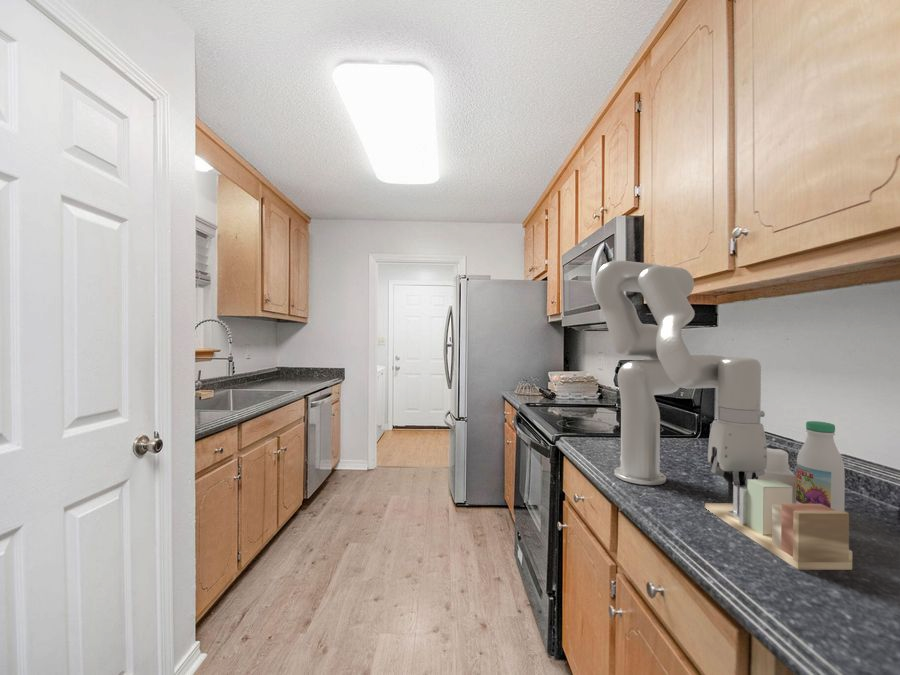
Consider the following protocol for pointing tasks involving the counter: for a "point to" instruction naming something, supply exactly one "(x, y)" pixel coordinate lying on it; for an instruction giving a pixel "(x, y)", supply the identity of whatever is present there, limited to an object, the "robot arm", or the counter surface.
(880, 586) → the counter surface
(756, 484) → the pale green block
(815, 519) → the panel
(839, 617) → the counter surface
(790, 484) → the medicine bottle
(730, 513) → the bookend
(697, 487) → the counter surface
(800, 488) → the milk bottle
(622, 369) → the robot arm
